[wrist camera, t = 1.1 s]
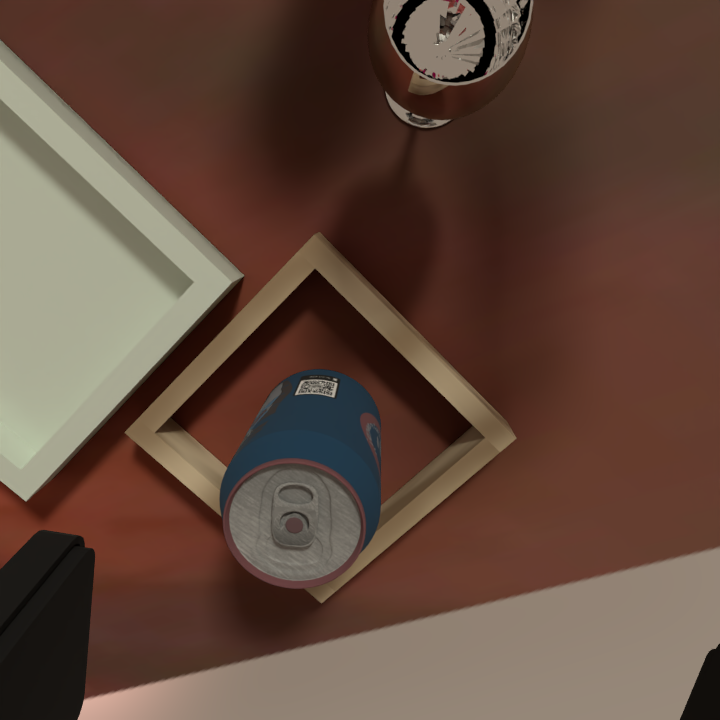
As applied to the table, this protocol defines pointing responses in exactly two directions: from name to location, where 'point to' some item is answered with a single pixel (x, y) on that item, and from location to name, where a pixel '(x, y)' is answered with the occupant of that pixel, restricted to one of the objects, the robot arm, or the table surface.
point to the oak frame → (318, 253)
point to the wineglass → (446, 54)
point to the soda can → (305, 482)
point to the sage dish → (82, 280)
